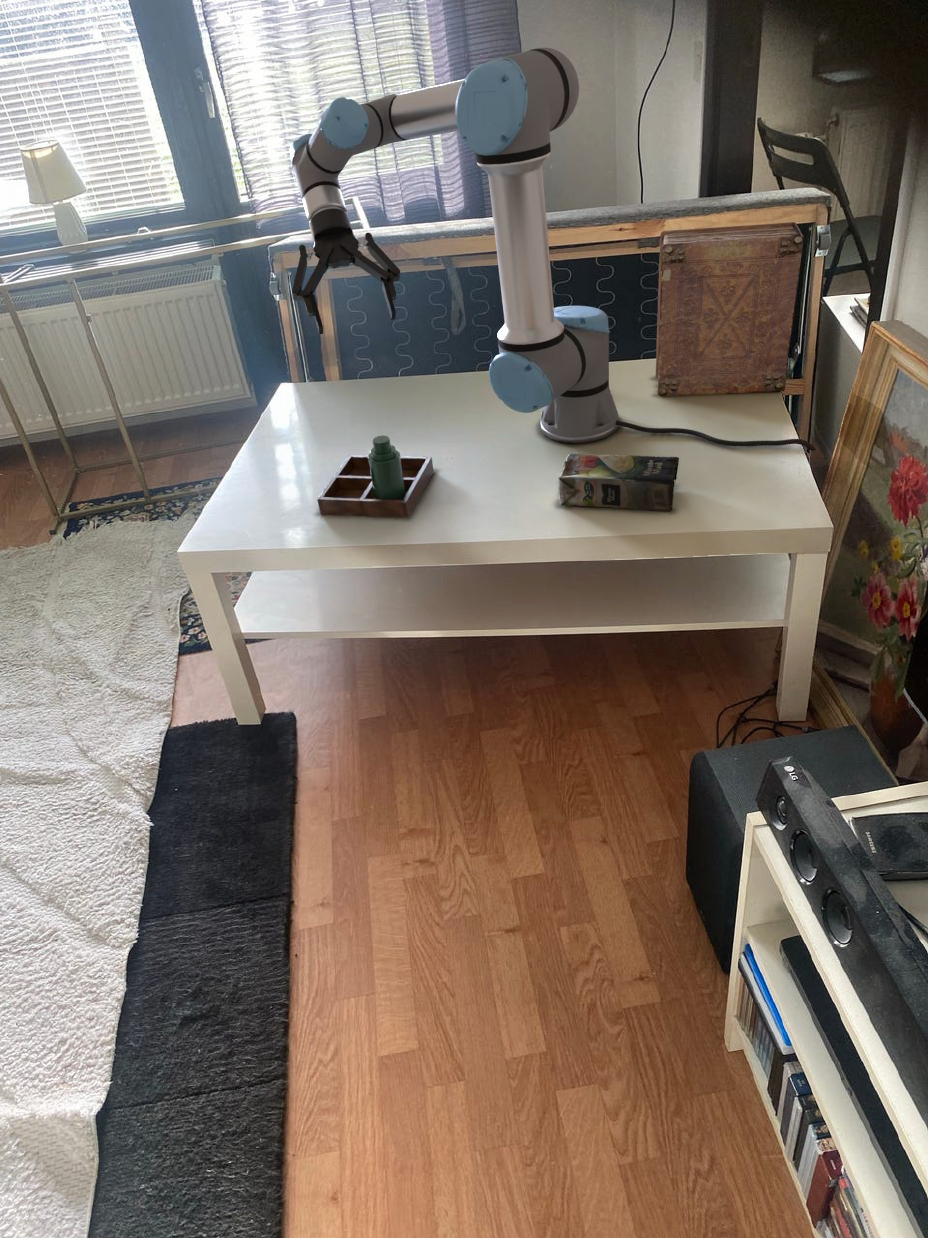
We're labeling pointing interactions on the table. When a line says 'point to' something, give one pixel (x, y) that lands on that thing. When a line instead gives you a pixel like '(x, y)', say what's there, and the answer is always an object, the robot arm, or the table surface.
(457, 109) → the robot arm
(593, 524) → the table surface
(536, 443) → the table surface
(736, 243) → the book
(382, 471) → the green bottle
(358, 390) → the table surface
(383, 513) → the tray
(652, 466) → the juice carton
